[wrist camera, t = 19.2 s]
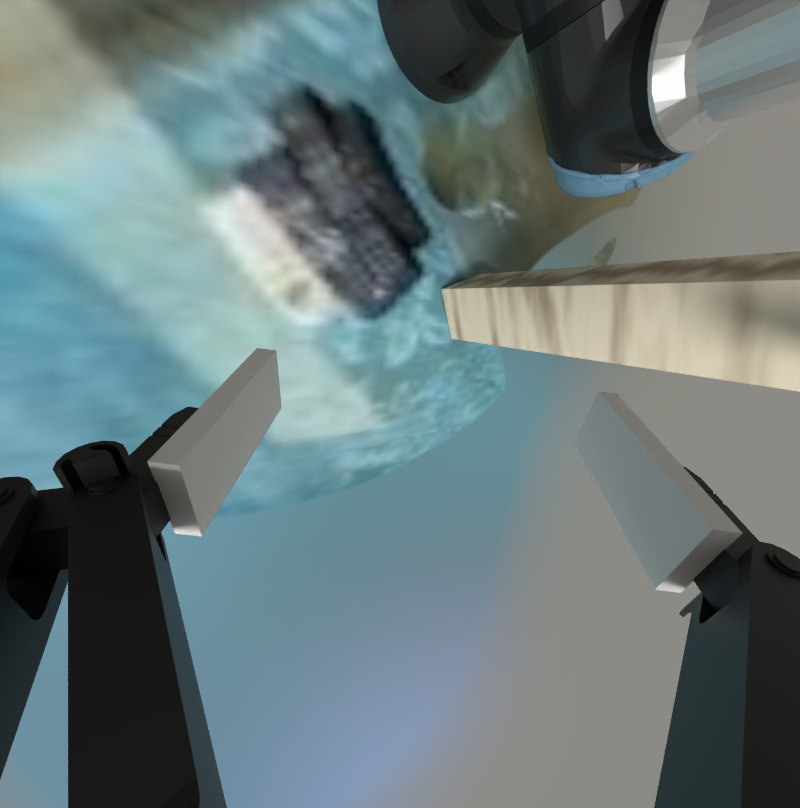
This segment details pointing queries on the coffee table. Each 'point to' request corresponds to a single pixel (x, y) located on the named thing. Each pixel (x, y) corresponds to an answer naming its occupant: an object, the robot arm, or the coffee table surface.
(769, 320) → the pedestal
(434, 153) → the coffee table surface
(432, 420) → the coffee table surface
